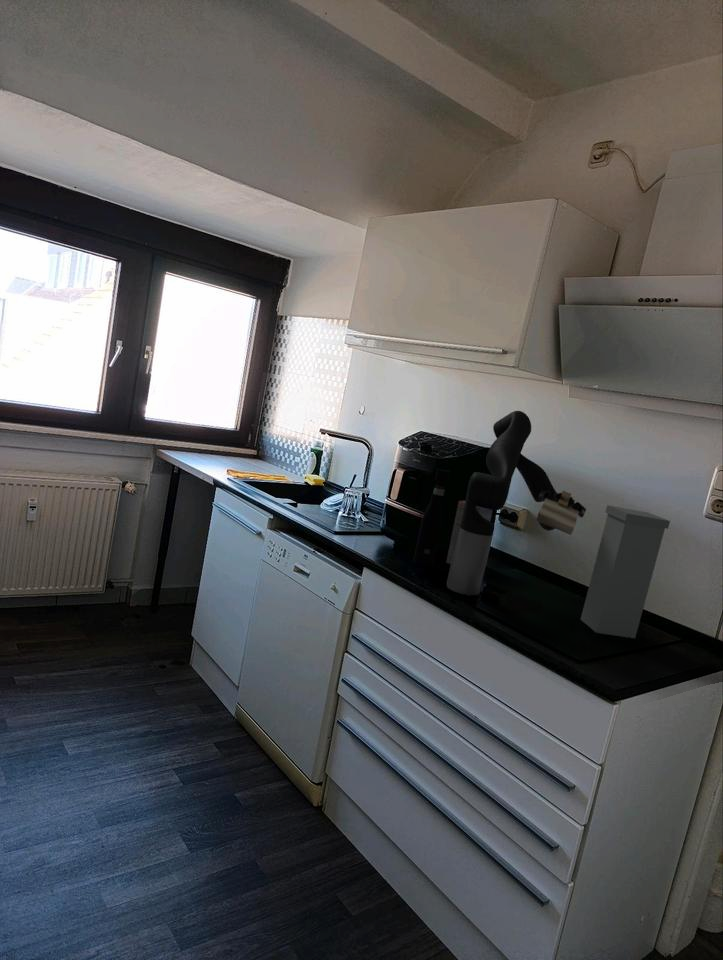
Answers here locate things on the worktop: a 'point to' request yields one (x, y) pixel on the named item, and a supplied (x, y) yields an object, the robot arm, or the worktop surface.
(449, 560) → the cracker box
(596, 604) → the tall grey lidded box
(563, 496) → the paddle
